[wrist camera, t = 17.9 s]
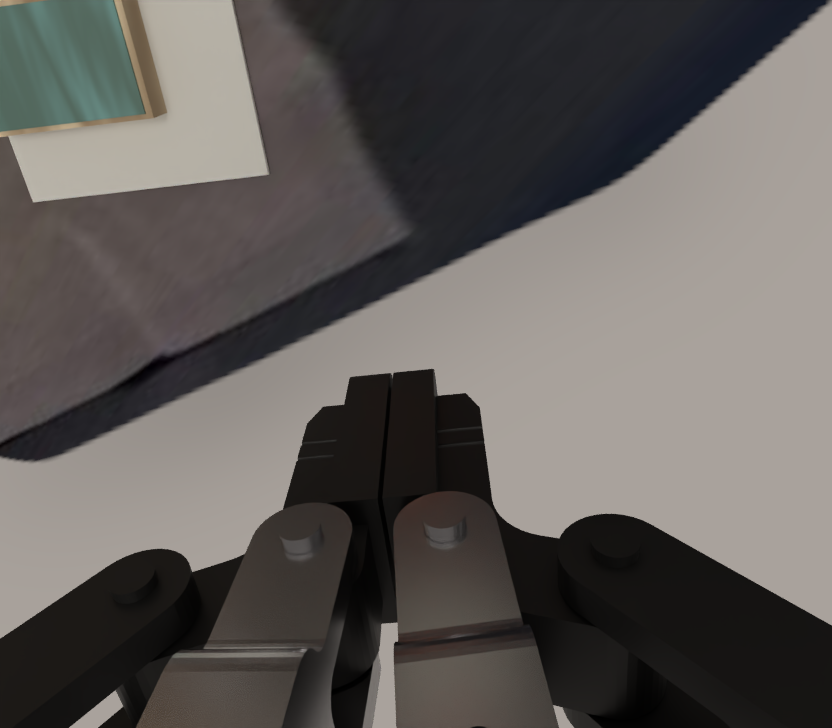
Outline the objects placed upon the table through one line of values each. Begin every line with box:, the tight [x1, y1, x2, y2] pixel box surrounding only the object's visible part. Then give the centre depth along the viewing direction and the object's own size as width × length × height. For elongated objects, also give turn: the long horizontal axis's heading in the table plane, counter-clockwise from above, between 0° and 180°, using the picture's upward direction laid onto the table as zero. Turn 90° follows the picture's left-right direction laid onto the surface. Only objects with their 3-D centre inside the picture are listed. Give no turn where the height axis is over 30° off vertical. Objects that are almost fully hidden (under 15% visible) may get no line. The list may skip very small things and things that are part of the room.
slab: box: [0, 0, 167, 137], centre depth 40 cm, size 2×7×10 cm
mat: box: [9, 0, 270, 202], centre depth 42 cm, size 16×16×1 cm
